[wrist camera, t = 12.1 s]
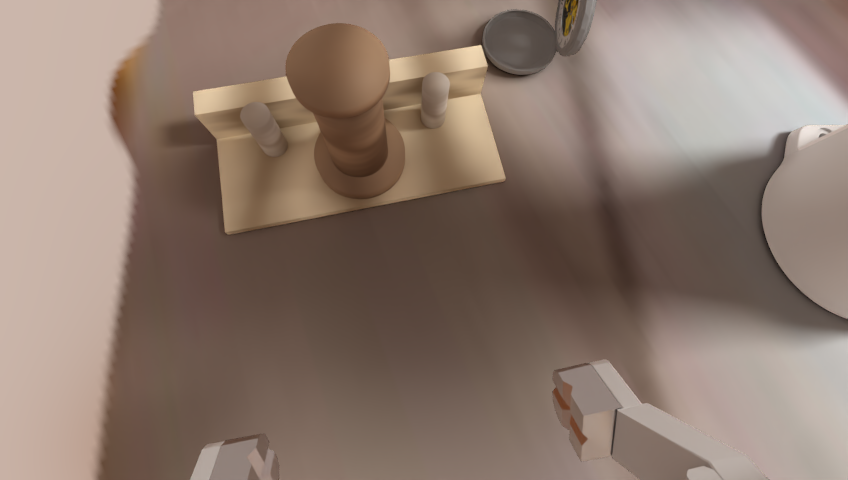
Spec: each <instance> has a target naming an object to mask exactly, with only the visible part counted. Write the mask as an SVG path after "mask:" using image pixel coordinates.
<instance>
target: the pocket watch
mask: <svg viewBox="0 0 848 480" xmlns="http://www.w3.org/2000/svg"><path fill="white" fill-rule="evenodd" d="M596 1H597V0H559V3H558V8H557V13H556V21H555V31H554V29H553V27H552V26H551V25H550V24H549V22H548V21H547V20H545V19H544V18H543V17H541V16H540V15H538V14H536V13H533V12H530V11H527V10H517V9H513V10H507V11H503V12H501V13H499V14H497V15H495V16H494V17H493V18H492V19H490V20H489V22H488V23H487V25H486V26H485V29H484V32H483V38H482V44H483V49H484V51H485V54H486V56H487V57H488V59H489V60H490V61H491V62H492V63H493V64H494V65H495V66H497V67H498V68H499V69H501V70H504V71H506V72H508V73H512V74H518V75H525V74H533V73H536V72H538V71H540V70H542V69H544V68H545V67H546V66H547V65H548V64H549V63H550V62H551V61H552V59H553V57H554V55H555V53H556V51H557V52H559V53H560V55H562V56H570V55H574V54H576V53H577V52H578V51H579V50H580V48H581V46H582V45H583V43H584V41H585V40H586V37H587V35H588V33H589V30H590V27H591V23H592V20H593V16H594V12H595V7H596ZM576 13H577V14H576Z"/></svg>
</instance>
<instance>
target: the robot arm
mask: <svg viewBox="0 0 848 480" xmlns="http://www.w3.org/2000/svg"><path fill="white" fill-rule="evenodd" d="M762 223H763V228H764V233H765V236H766V239H767V242H768V245H769V247H770V250H771V252H772V254H773V256H774V258H775V259H776V261H777V263H778V264H779V266H780V267H781V269H782V270H783V272H784V273H785V274H786V276H787V277H788V278H789V279H790V280H791V281H792V282H793V284H794V285H795V286H796V287H797V288H798V289H799V290H800V291H802V292H803V293H804V294H805V295H806V296H807V297H809V298H810V299H811V300H813V301H814V302H815V303H817V304H818V305H820V306H821V307H823V308H825V309H826V310H828V311H830V312H832V313H834V314H836V315H838V316H841V317H843V318H846V319H848V124H847V125H806V126H803V127H801V128H799V129H796V130H794V131H792V132H791V133H790V134H789V136H788V138H787V142H786V147H785V155H784V160H783V162H782V163H781V165H780V166H779V168H778V169H777V170H776V171H775V173H774V174H773V175H772V177H771V178H770V180H769V182H768V184H767V186H766V189H765V192H764V195H763V200H762ZM553 382H554V384H555V386H556V388H555V389H554V390H553V391H552V393H553V403H554V408H555V411H556V414H557V416H558V419H559V421H560V423H561V425H562V426H563V427H565V428H566V429H568V430H570V434H569V440H570V442H571V444H572V446H573V448H574V450H575V452H576V453H577V455H578V457H579V459H580V461H581V462H584V461H589V460H594V459H599V458H604V457H609V456H612V458H613V459H614V460H615V461H617V462H618V463H619V464H621V465H622V466H623V467H624V468H626V469H627V470H628V471H630V472H631V473H632V474H634V475H635V476H636V477H637V478H639V479H640V480H769V479H768V478H767V477H766V476H765V474H764V473H763V472H762V471H761V470H760V469H759V468H758V467H757V466H756V465H755V464H754V463H753V461H752V460H751V459H750V458H749V457H748V456H747V455H746V454H744V453H742V452H740V451H738V450H736V449H734V448H732V447H731V446H729V445H727V444H725V443H723V442H721V441H719V440H717V439H715V438H713V437H711V436H709V435H708V434H706V433H704V432H702V431H700V430H698V429H696V428H694V427H692V426H690V425H688V424H687V423H685V422H683V421H681V420H679V419H677V418H675V417H673V416H671V415H669V414H667V413H665V412H664V411H662V410H660V409H658V408H656V407H654V406H652V405H650V404H648V403H645V404H642V403H641V402H640V401H639V399H638V398H637V397H636V396H635V394H634V393H633V392H632V390H631V389H630V388H629V387H628V385H627V384H626V383H625V381H624V380H623V379H622V378H621V376H620V375H619V374H618V372H617V371H616V370H615V369H614V367H613V366H612V365H611V363H610V362H609V361H607V360H606V359H604V360H599V361H594V362H590V363H584V364H580V365H575V366H571V367H567V368H562V369H558V370H554V372H553ZM268 446H269V440H268V438H267V436H266V434H257V435H252V436H247V437H241V438H236V439H231V440H225V441H221V442H216V443H211V444H207V445H206V446H205V447H204V448H203V449H202V451H201V453H200V455H199V458H198V461H197V463H196V466H195V468H194V471H193V473H192V476H191V478H190V480H279V462H278V458H277V456H276V454H275V452H274V451H272V450H270V449H268Z"/></svg>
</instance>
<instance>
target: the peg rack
mask: <svg viewBox="0 0 848 480" xmlns="http://www.w3.org/2000/svg"><path fill="white" fill-rule="evenodd" d="M389 66H390V81H389V85H388V89H387V91H386V93H385V95H384V96H383V98H382V100H383V109H384V118H386V119H387V120H389V121H390V122H391V123H392V124H393V125H394V126H395V127H396V128H397V129H398V131H399V132H400V134H401V136H402V138H403V141H404V146H405V166H404V169H403V172H402V175H401V177H400V178H399V180H398V181H397V182H396V184H395V185H394V186H393V187H392V188H391V189H389V190H388V191H386V192H385V193H383V194H381V195H379V196H376V197H373V198H369V199H351V198H347V197H344V196H342V195H339V194H338V193H336V192H334V191H333V190H332V189H330V188H329V187H328V186H327V185H326V183H325V182H324V181H323V179H322V177H321V175H320V173H319V171H318V169H317V167H316V164H315V160H314V148H315V143H316V140H317V138H318V136H319V134H320V133H321V131H320V129H319V126H318V124H317V121H316V119H315V116H314V114H313V113H312V112H311V111H309V110H308V109H306V108H305V107H304V106H303V105H301V104H300V102H299V101H298V100H297V99H296V97H295V95H294V94H293V91H292V89H291V87H290V85H289V82H288V80H287V77H281V78H275V79H268V80H262V81H256V82H250V83H244V84H238V85H232V86H225V87H219V88H213V89H207V90H201V91H195V92H193V99H194V112H195V116H196V117H197V118H198V119H199V120H200V121H201V123H202V124H203V125H204V126H205V127H206V128H207V129H208V130H209V131H210V133H211V134H212V135H213V136H214V137H215V138H216V139H217V149H218V160H219V171H220V182H221V193H222V204H223V215H224V227H225V233H227V234H228V235H230V234H235V233H241V232H246V231H251V230H256V229H261V228H266V227H271V226H277V225H282V224H287V223H292V222H297V221H302V220H308V219H313V218H318V217H323V216H328V215H333V214H339V213H344V212H349V211H354V210H359V209H364V208H370V207H375V206H380V205H385V204H390V203H395V202H401V201H406V200H411V199H416V198H421V197H426V196H432V195H437V194H442V193H447V192H452V191H457V190H463V189H468V188H473V187H478V186H483V185H488V184H494V183H499V182H504V181H505V179H506V177H505V174H504V171H503V167H502V164H501V161H500V157H499V154H498V150H497V147H496V144H495V140H494V137H493V134H492V130H491V127H490V124H489V120H488V117H487V113H486V110H485V107H484V103H483V100H482V97H481V90H482V86H483V83H484V79H485V75H486V71H487V67H488V65H487V62H486V58H485V55H484V52H483V49H482V46H481V45H478V46H472V47H466V48H460V49H453V50H447V51H441V52H435V53H429V54H423V55H416V56H410V57H404V58H398V59H392V60H389Z"/></svg>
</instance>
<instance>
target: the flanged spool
mask: <svg viewBox="0 0 848 480" xmlns="http://www.w3.org/2000/svg"><path fill="white" fill-rule="evenodd" d="M286 76H287V80H288V82H289V85H290V87H291V89H292V91H293V94H294V95H295V97H296V99H297V100H298V101H299V102H300V104H301V105H303V106H304V107H305V108H306V109H308V110H309V111H311V112H312V113H313V114H314V116H315V119H316V121H317V124H318V126H319V129H320V131H321V133H320V134H319V136H318V138H317V140H316V143H315V148H314V160H315V164H316V167H317V169H318V171H319V173H320V175H321V177H322V179H323V181H324V182H325V183H326V185H327V186H328V187H329V188H330V189H332V190H333V191H334V192H336V193H338V194H339V195H342V196H344V197H347V198H351V199H369V198H373V197H376V196H379V195H381V194H383V193H385V192H386V191H388V190H389V189H391V188H392V187H393V186H394V185H395V184H396V182H397V181H398V180H399V178H400V177H401V175H402V172H403V169H404V166H405V146H404V141H403V138H402V136H401V134H400V132H399V131H398V129H397V128H396V127H395V126H394V125H393V124H392V123H391V122H390V121H389V120H387V119H386V118H384V109H383V100H382V98H383V96H384V95H385V93H386V91H387V89H388V85H389V81H390V66H389V58H388V54H387V51H386V49H385V47H384V46H383V44H382V43H381V41H380V40H379V39H378V38H377V37H376V36H375V35H373V34H372V33H371V32H369V31H367V30H365V29H363V28H361V27H358V26H355V25H351V24H343V23H336V24H328V25H323V26H320V27H317V28H315V29H313V30H311V31H309V32H307V33H306V34H304V35H303V36H302V37H300V38H299V39H298V40H297V41H296V43H295V44H294V45H293V46H292V48H291V50H290V52H289V54H288V56H287V60H286Z"/></svg>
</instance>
